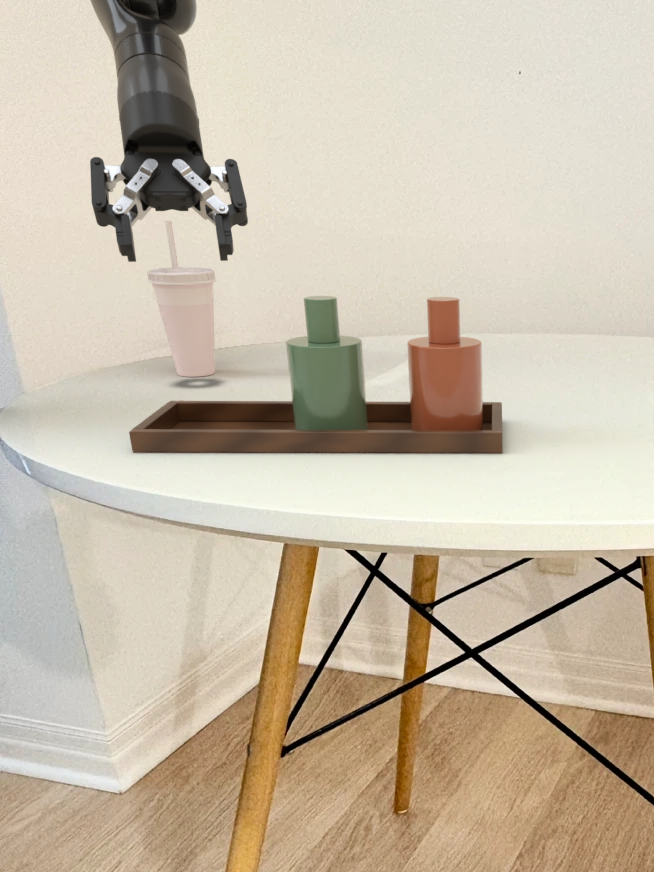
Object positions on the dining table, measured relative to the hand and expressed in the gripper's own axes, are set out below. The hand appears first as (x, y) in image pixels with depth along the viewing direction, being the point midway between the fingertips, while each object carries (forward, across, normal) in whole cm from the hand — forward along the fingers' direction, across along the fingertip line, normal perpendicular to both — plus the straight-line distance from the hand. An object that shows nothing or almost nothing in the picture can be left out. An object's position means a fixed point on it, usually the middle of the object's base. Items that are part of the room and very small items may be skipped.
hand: (178, 255), depth 97 cm
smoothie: (+7, 0, +8) cm, 11 cm away
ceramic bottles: (+31, +14, -16) cm, 37 cm away
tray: (+30, +10, -14) cm, 35 cm away
